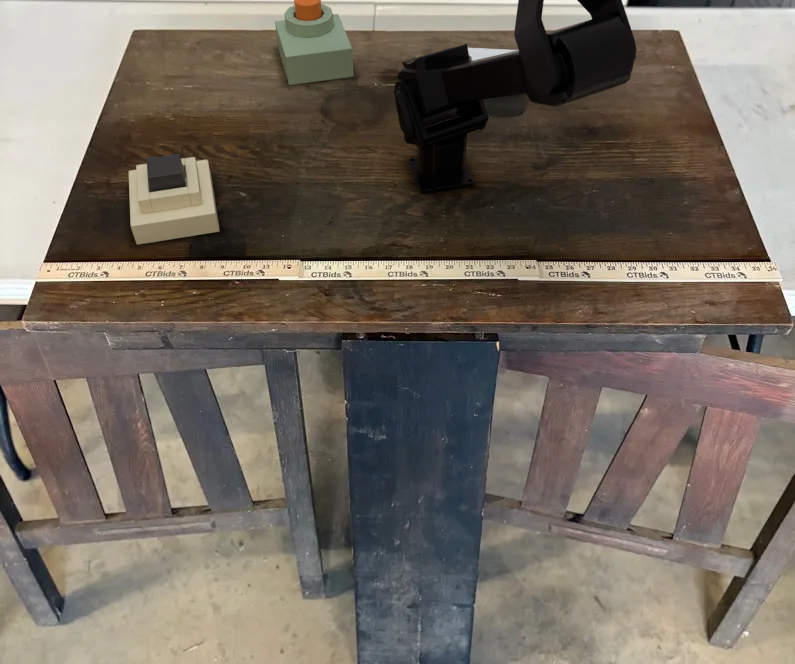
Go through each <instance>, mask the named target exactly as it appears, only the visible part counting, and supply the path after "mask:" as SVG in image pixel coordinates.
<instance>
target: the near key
mask: <svg viewBox="0 0 795 664" xmlns="http://www.w3.org/2000/svg"><path fill="white" fill-rule="evenodd" d="M181 159H182V157H181V154H180V153H174V154H168V155H161V156H153V157H147V158H146V164H147V175H148V181H149V184H150V188H151V191H152V192H155V191H162V190H169V189H175V188H182V187H185V178H184V169H183V165H182V161H181Z"/></svg>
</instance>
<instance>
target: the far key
mask: <svg viewBox="0 0 795 664" xmlns="http://www.w3.org/2000/svg"><path fill="white" fill-rule="evenodd" d="M293 3H294V5H295V15H296V18H297V19H299V20H303V21H312V20H317V19H319V18H321V17H322V9H321V4H322V0H293ZM294 5H293V6H294Z"/></svg>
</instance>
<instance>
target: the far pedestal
mask: <svg viewBox="0 0 795 664" xmlns="http://www.w3.org/2000/svg"><path fill="white" fill-rule="evenodd" d="M321 9H322V17H321V18H319V19H317V20H312V21H303V20H299V19H297V18H296V15H295V5H292V6H290V7H288V8H287V9H286V10H285V12H284V14H283V15H284V20H283V19H282V20H276V21H274V24H275V33H276V42H277V49H278V53H279V56H280V60H281V63H282V66H283V70H284V73H285V76H286V80H287V83H288V86H293V85H294V86H295V85H300V84H301V85H302V84H309V83H316V82H323V81H324V82H325V81H332V80H340V79H346V78H347V79H348V78H353V77H355V75H354V74H355V73H354V53H353V51H354V50H353V46H352V43H351V41H350V39H349V36H348V35H347V32H346V29H345V27H344V25H343V22H342V20H341V18H340V15H339V13H333V10H332V8H331V7H330V6H328V5H326V4H324V3H321Z"/></svg>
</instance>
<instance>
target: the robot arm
mask: <svg viewBox="0 0 795 664" xmlns="http://www.w3.org/2000/svg"><path fill="white" fill-rule="evenodd" d="M544 1H545V0H518V2H517V8H516V15H515V23H514V32H513V35H514V40H515V42H516V47H517V50H518V51H513V52H509V53H504V54H500V55H496V56H491V57H487V58H482V59H478V60H472V58H471V56H470V55H469V53H468V48H469V47H468V43H465V44H461V45H458V46H451V47H447V48H444V49H440V50H437V51H434V52H431V53H428V54H424V55H421V56H417V57H413V58H411V59H407V60H403V61H402V65H403V68H400V70H399V71H398V73H397V79H398V80H397V81H396V82H395V83H394V89H393V94H394V100H395V106H396V107H395V108H396V111H397V112H396V114H397V117H398V123H399V126H400V130H401V132H402V133H403V137H404V138H403V141H404V143H406V144H409V145H413V146H416V156H415V157H410V158H408V159H407V163H408V166H409V168H410V171H411V173H412V176H413V178H414V180H415V183H416V185H417V188H418V189H419V192H420V193H421V194H429V193H436V192H443V191H449V190H455V189H461V188H467V187H472V186H474V185H475V179H474V177H473V175H472V173H471V171H470V169H469V167H468V166H467V163H466V162H467V160H466V159H467V149H468V148H467V146H468V134H471V133H473V132H477V131H481V130H485V128H486V127H487V123H488V121H489V118H490V117H489V113H488V111H487V108H486V105H485V102H484V100H490V99H497V98H505V97H513V96H520V95H526V96H527V98H528V100H529V101H530V102H531V103H533V104H537V105H538V104H539V105H543V106H550V107H555V108H556V107H560V106H563V105H565V104H568V103H572V102H575V101H578V100H581V99H584V98H586V97H590V96H592V95H593V96H594V95H595V94H599V93H602V92H604V91H608V90H611V89H614V88H617V87H620V86H622V85H624V84H626V83H628V82H629V81H630V80H631V78H632V72H633V69H634V64H635V60H636V58H637V45H636V39H635V36H634V33H633V30H632V28H631V24H630V21H629V18H628V14H627V12H626V9H625V6H624V3H623V0H576V1H577V2H578V3H579V4H580V5H581V6H582V7H583V8H584V9H585V10H586V12H587V13H588V14H589V15H590V18H591V19H587V20H585V21H581V22H578V23H575V24H571V25H568V26H565V27H562V28H561V27H560V28H558V29H554V30H551V31H548V32H547V31H546V28H545V25H544V22H543V18H542V17H543V10H544V3H545V2H544Z"/></svg>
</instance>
